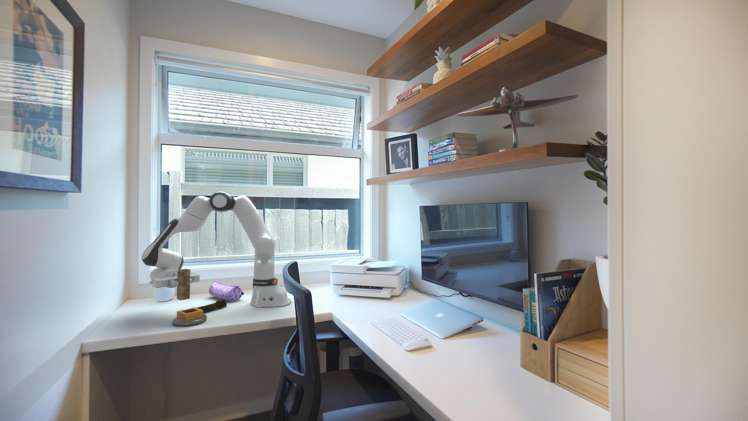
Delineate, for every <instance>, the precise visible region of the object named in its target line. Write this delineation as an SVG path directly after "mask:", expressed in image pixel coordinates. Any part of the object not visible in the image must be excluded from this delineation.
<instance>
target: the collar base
mask: <svg viewBox="0 0 748 421" xmlns="http://www.w3.org/2000/svg"><path fill="white" fill-rule="evenodd" d="M207 319H208V316H207V315H206V314H204V312H203V310H201V309H198V308H197V307H191V308H186V309H182V310H177V311H176V317H175V318H173V319H172V321H171V322H172V323H171V324H172V326H174V327H178V328H179V327H182V328H185V327H187V328H188V327H192V326H198V325H202V324H203V323H205V322H206V321H207Z"/></svg>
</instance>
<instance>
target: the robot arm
mask: <svg viewBox="0 0 748 421" xmlns="http://www.w3.org/2000/svg"><path fill="white" fill-rule="evenodd" d="M229 211H231V212H233V213H234V214H235V216H236V218H237V219H238V221H239V222H240V224H241V227H242V228H243V229H244V231H245V233H246V235H247V237H248V239H249V241H250V243H251V245H252V246H253V248H254V255H253V256H254V260H253V263H254V264H253V277H252V294H251V300H250V303H249V304H250V306H254V307H255V308H270V307H272V308H274V307H286V306H288V305H290V304H291V303H292V299H291V298H290V297H288V291H287V290H286V289H285V288H283V287H282V286H280V285H279V284H278V281H279V279H278V277H277V278H276V277H275V248H276V242H275V239H274V237H273V236H272V234H271V232H270V231H269V229H268V228H267V226H266V224H265V222H264V220H263V219H262V217H261V214H260V213H259V211H258V210H257V207H256V206H255V205H254V204H253V202H252V201H251V199H250V198H249V197H247V196H246V195H239V196H236V197H234V196H232V195H230V194H229V193H227V192H225V191H222V190H221V191H216V192H214V193H213V194H211V195H210V196H209V197H206V196H203V195H200V196H199V195H198V196H195V197H194V198H193V200H192V201H191V202H190V203H189V204H188V206H187V207H186V209H185V211H184V212H183V214H181V215H180V217H178V218H174V219H172V220H171V221H169V222H168V224H166V226H165V227H164V229H162V231H161V232H160V233H159V234H158V235H157V236H156V238H155V239H154V240H153V241H152V243H151V244H149V245H148V246H147V247H146V248H145V250H144V251H143V252H142V254H141V260H142V262H143V264H144V265H145V266H149V267H154V268H153V269H152V270H151V271H150V273H149V278H150V280H151V281H148V283H149V284H150V285H152V287H153V288H156V289H159V288H160V289H161V288H167V289H168V288H169V289H174V288H177V285H180V281H177V274H178V270H179V269H183V266H184V262H185V261H184V256H183V255H182V253H181V252H178V251H174V250H170V249H167V248H163V247H164V246H165V245H166V244H167V243H168V241H169V240H170V238H172V237H173V236H174V235H175V234H178V233H192V232H197V231H198V230H200V229H201V228H202V227H203V226H204V224H205V223H206V221H207V219H208V217H209V216H210V214H211V213H212V212H217V213H226V212H227V213H228V212H229ZM200 280H201V275H200V274H199V273H197V272H194V271H190V284H192V283H198V282H200Z"/></svg>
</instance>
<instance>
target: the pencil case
mask: <svg viewBox="0 0 748 421" xmlns="http://www.w3.org/2000/svg"><path fill="white" fill-rule="evenodd" d="M208 293H209V295H210V296H212V297H215V298H218V299H219V300H222V299H225V300H226V301H228V302H232V303H234V302H238V301H239V300H241V298H242V296H244V293H245V291H243V290H242V288H240V285H228V284H223V283H221V282H220V281H219V280H214V282H212V283H211V284H210V285H209V287H208Z"/></svg>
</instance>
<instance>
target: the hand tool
mask: <svg viewBox="0 0 748 421" xmlns="http://www.w3.org/2000/svg"><path fill="white" fill-rule="evenodd" d="M227 303H228V302H227V300H225V299H219V300H215V302H213V303H209V304H205V305H201V306H198V307H196V308H198V309H201V310H203V313H206V312H210V311H213V310H221V309H224V308H227V307H228V306H227V305H228V304H227Z"/></svg>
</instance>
